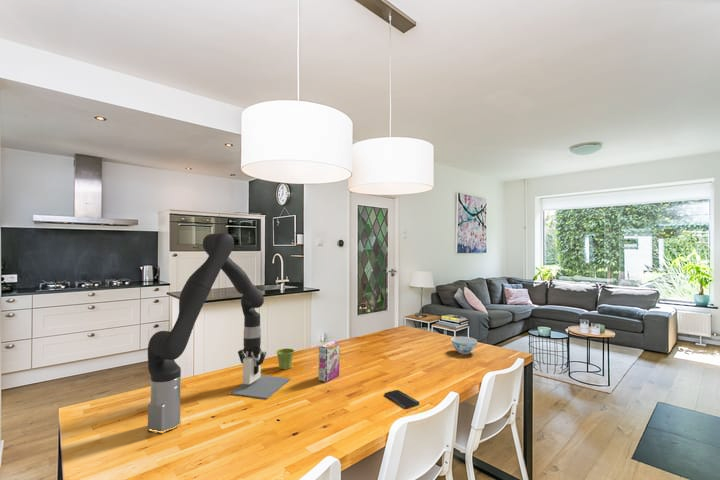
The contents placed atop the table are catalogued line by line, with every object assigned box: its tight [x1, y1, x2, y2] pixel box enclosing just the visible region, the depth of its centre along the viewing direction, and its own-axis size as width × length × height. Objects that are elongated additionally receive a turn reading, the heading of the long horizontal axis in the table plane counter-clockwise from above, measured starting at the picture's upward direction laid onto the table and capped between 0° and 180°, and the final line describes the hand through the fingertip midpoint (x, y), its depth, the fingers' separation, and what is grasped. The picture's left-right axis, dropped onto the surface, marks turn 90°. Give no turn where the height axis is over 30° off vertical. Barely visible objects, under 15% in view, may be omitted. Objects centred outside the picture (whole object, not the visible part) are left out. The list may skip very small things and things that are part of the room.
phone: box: [383, 389, 420, 410], centre depth 145 cm, size 8×1×15 cm
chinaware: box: [450, 336, 478, 355], centre depth 209 cm, size 15×15×8 cm
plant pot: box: [275, 348, 296, 370], centre depth 182 cm, size 9×9×9 cm
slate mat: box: [229, 374, 292, 400], centre depth 157 cm, size 22×18×1 cm
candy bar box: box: [318, 340, 341, 383], centre depth 168 cm, size 11×5×16 cm, turn 149°
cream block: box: [242, 354, 262, 384], centre depth 159 cm, size 9×4×11 cm, turn 165°
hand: (251, 373), depth 159 cm, fingers closed on cream block, 3 cm apart
